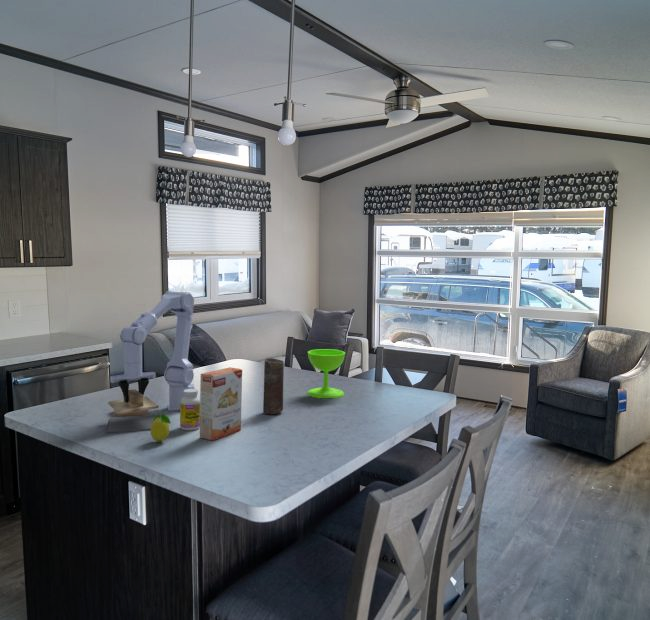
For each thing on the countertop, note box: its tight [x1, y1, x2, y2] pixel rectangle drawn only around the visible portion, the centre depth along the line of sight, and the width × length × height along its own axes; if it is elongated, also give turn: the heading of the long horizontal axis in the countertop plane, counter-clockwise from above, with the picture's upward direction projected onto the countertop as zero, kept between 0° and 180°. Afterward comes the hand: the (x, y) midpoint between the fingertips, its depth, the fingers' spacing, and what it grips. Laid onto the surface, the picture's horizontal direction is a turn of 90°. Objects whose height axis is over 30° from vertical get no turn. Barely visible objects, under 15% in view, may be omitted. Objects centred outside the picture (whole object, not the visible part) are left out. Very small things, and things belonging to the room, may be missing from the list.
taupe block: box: [107, 388, 159, 414], centre depth 186 cm, size 13×13×5 cm
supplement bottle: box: [179, 388, 200, 431], centre depth 184 cm, size 7×7×13 cm
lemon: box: [150, 410, 171, 443], centre depth 169 cm, size 7×6×10 cm
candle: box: [262, 357, 285, 415], centre depth 203 cm, size 8×7×20 cm
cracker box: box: [199, 366, 243, 441], centre depth 178 cm, size 14×6×21 cm, turn 148°
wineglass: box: [306, 348, 346, 399], centre depth 233 cm, size 16×16×18 cm
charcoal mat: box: [107, 414, 159, 434], centre depth 187 cm, size 16×16×1 cm
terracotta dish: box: [113, 409, 150, 417], centre depth 201 cm, size 12×12×3 cm
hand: (133, 401), depth 186 cm, fingers closed on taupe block, 4 cm apart
